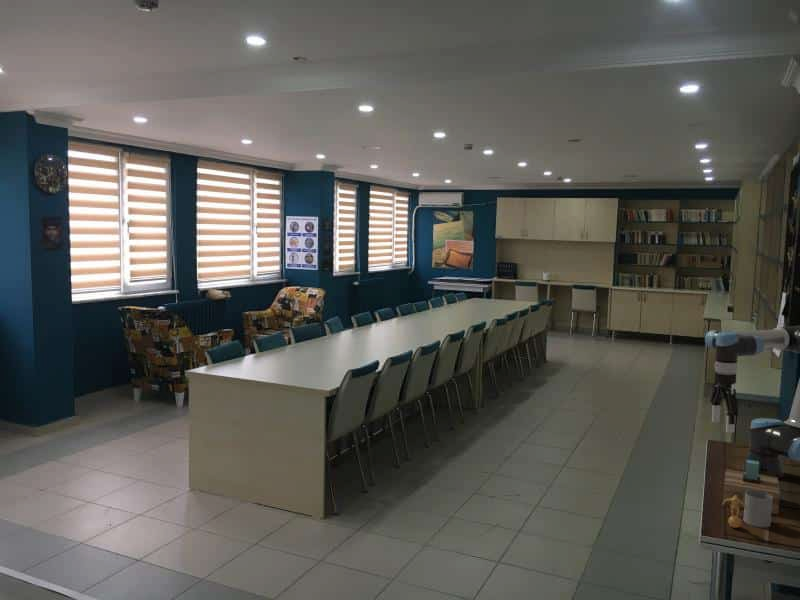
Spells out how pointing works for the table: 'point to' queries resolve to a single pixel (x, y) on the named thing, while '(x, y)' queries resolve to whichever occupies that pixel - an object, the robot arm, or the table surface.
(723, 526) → the table surface
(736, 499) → the figurine
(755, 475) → the peg
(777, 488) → the socket block
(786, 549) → the table surface
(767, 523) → the cup
